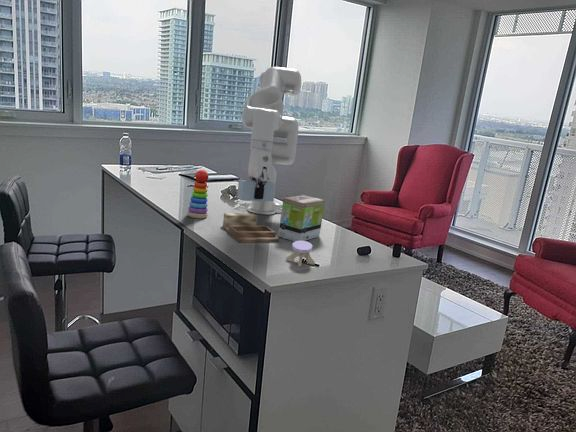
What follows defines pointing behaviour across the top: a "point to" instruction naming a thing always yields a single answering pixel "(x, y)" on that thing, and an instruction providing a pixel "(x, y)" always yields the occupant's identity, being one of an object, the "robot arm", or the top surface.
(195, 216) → the stacking toy
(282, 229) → the tea box
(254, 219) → the beige rectangular block
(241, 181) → the light blue rectangular block
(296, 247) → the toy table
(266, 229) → the cradle jig
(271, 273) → the top surface
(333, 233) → the top surface
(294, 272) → the top surface
